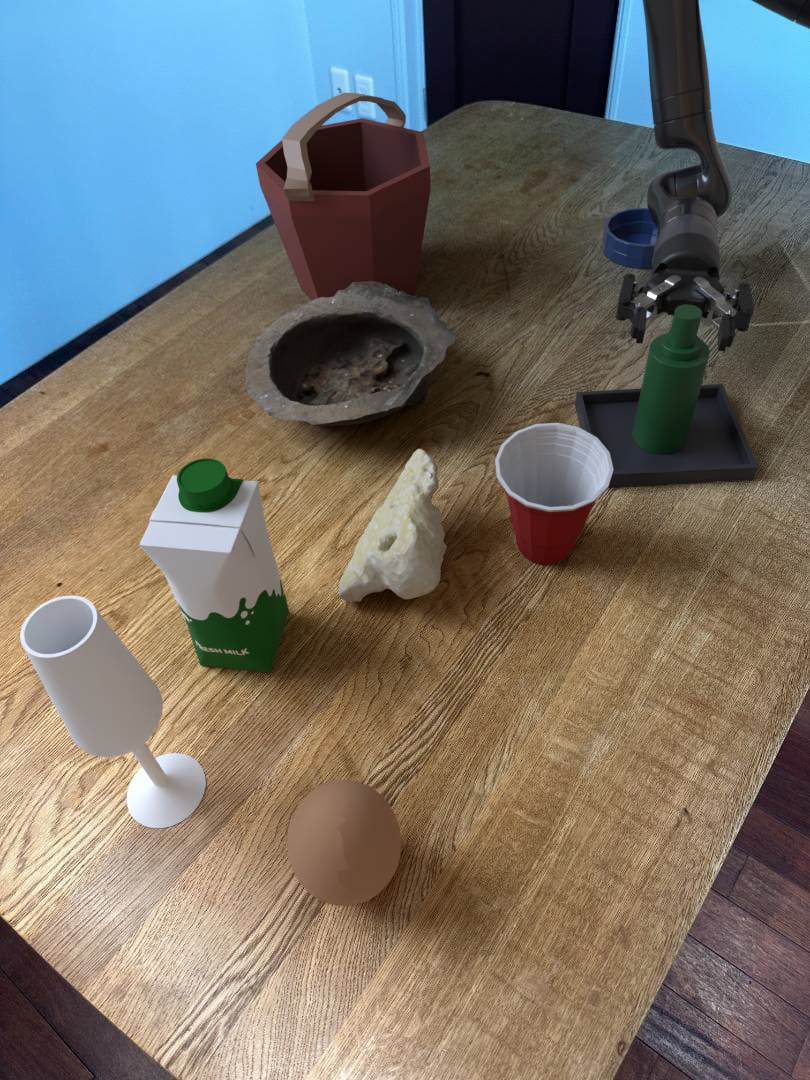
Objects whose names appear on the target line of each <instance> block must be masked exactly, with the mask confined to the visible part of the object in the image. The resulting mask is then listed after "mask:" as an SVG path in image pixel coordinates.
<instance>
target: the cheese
mask: <svg viewBox="0 0 810 1080" xmlns="http://www.w3.org/2000/svg"><path fill="white" fill-rule="evenodd" d="M439 481H440V480H439V478H438V464H437V462H436V460H435V457H433V456H432V455H429V454H428V453H427V451H425V450H424V449H422V448H417V449H416V450H415V451H414V452H413V453H412V455H411V457H410V458H409V459H408V461H406V463H405V466H404V468H403V471H401V473H400V475H399V477H398V479H397V481H396V483H395V484H394V486H393V487H392V489H391V491H389V493H388V495H387V497H386V498H385V500H384V501H383V504H382V505H381V506H379V508H377V510H376V511H375V513H374V514H373V515H372V518H371V520H370V521H369V522H368V525H367V526H366V527H365V530H364V531H363V533H362V535H361V536H360V537H359V539H358V541H357V544H356V546H355V549H354V553H353V555H352V557H351V558H350V561H349V562H348V564H347V567H346V568H345V570H344V572H343V574H342V576H341V578H340V581H339V584H338V596H339V597H340V599H342V600H343V601H345V602H346V603H347V602H349V603H351V602H362V600H363V598H364V597H365V596H367V595H369V594H373V593H381V592H383V591H384V590H390V591H392V592H393V593H395V595H396V596H398V597H399V598H401V599H403V600H412V599H414V598H419V597H422V596H425V595H428V594H429V593H432V592H433V591H434V590H435V589H436V588H437V587H438V585H439V583H440V582H441V572H442V571H441V566H442V564H443V561H444V555H445V553H446V551H447V548H448V547H447V545H446V543H445V542H444V540H445V537H446V534H445V531H444V528H443V524H442V521H443V518H442V517H443V515H442V513H441V511H440V510H439V508H438V507H437V506H436V505H434V503H433V501H432V499H433V496H434V494H435V493H436V492H437V490H438V489H439V485H440V483H439Z"/></svg>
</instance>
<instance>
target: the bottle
mask: <svg viewBox="0 0 810 1080" xmlns="http://www.w3.org/2000/svg"><path fill="white" fill-rule="evenodd" d="M701 316H702V311H701V309H700V308H698V307H696V306H694V305H680V306H678V307H677V308H676V309H675V313H674V315H673V318H672V322H671V327H670V331H667V332H665V333H663V334H661V335H659V336H657V337H655V338H654V339H653V340H652V341H651V342H650V345H649V348H648V352H647V358H646V363H645V368H644V373H643V378H642V383H641V388H640V389H641V393H640V397H639V402H638V407H637V412H636V417H635V422H634V427H633V432H632V436H633V439H634V441H635V443H636V444H637V445H638V446H639V447H640V448H642V449H643V450H645V451H648V452H650V453H654V454H671V453H675V452H677V451H679V450H680V449H682V448H683V447H684V445H685V443H686V440H687V437H688V433H689V429H690V425H691V422H692V418H693V414H694V411H695V407H696V403H697V400H698V396H699V392H700V389H701V385H703V381H704V377H705V373H706V369H707V366H708V362H709V359H710V354H711V352H710V351H711V350H710V347H709V346H708V345H707V343H706V342H705V341H703V340H702V339H701V338H700V337H699V336H698V332H699V328H700V324H701Z"/></svg>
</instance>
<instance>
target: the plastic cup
mask: <svg viewBox="0 0 810 1080" xmlns="http://www.w3.org/2000/svg"><path fill="white" fill-rule="evenodd" d="M494 464H495V472H496V478H497V480H498V482H499V484H501V486H502V487H503V490H504V491H505V496H506V497H507V502H508V507H509V513H510V518H511V522H512V523H511V524H512V530H513V532H514V536H515V542H516V546H517V548H518V550H519V552H520V554H521V555H522V556H523V557H524V558H525V559H526V560H528V561H530V562H532V563H534V564H538V565H542V566H546V565H547V566H548V565H556V564H559V563H561V562H564V561H565V560H566V559H567V558H568V557H569V556H570V555H571V554H572V552H573V551H574V549H575V547H576V544H577V541H578V538H579V537H580V536H581V533H582V531H583V529H584V527H585V525H586V522H587V520H588V517H589V515H590V513H591V511H592V508H593V505H594V504H595V503H596V501H597V499H598V498H599V497H600V496H601V495H602V494H603V493H604V492H605V491H606V490H607V489H608V488H609V487H608V486H609V483H610V479H611V476H612V473H613V470H614V469H613V465H612V461H611V456H610V452H609V451H608V450H607V449H606V448H605V446H604V445H603V444H602V443H601V441H600V440H599V439H598V438H597V437H595V436H593V435H592V434H590V433H588V432H586V431H585V430H583V429H581V428H580V426H575V425H570V424H565V423H561V422H549V423H548V422H547V423H535V424H531V425H529V426H527V427H524V428H521V429H519V430H517V431H514V433H512V434H511V435H510V436H509V437H508V438H506V440H504V441H503V442H502V443H501V444H500V446H499V449H498V452H497V454H496V457H495V458H494Z"/></svg>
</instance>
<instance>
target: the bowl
mask: <svg viewBox="0 0 810 1080" xmlns="http://www.w3.org/2000/svg"><path fill="white" fill-rule="evenodd" d="M603 226H604V227H603V233H602V241H601V251H602V252H603V255H604V256H605V257H606V258H607V259H608V260H610V261H611V262H612V263H615V264H617V265H620V266H622V267H624V268H625V267H626V268H633V269H639V270H643V269H644V270H645V269H647V270H648V269H652V259H653V255H654V248H655V244H656V241H657V235H658V229H657V227H656V226H655V224H654V222H653V220H652V218H651V216H650V213H649V210H648V207H629V208H625V209H622V210H619V211H616V212H614V213H612V214H610V216H608V217H607V218H606V221H605V223H604V225H603Z"/></svg>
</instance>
